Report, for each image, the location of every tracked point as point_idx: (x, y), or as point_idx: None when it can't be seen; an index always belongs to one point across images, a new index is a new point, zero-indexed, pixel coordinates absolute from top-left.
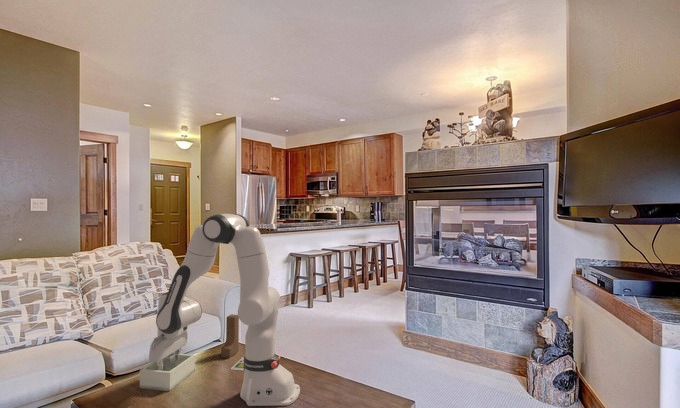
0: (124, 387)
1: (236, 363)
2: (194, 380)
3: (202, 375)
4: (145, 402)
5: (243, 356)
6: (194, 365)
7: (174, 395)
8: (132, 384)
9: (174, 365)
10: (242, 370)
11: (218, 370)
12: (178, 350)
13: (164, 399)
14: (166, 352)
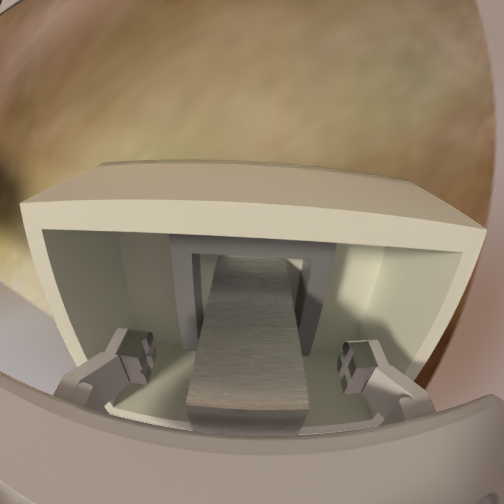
0: None
1: (12, 2)
2: (242, 74)
3: (152, 63)
4: (482, 246)
5: None
6: (84, 172)
7: (448, 128)
8: None
9: (219, 304)
10: None
11: (76, 18)
12: (94, 394)
13: (476, 168)
14: (412, 474)
